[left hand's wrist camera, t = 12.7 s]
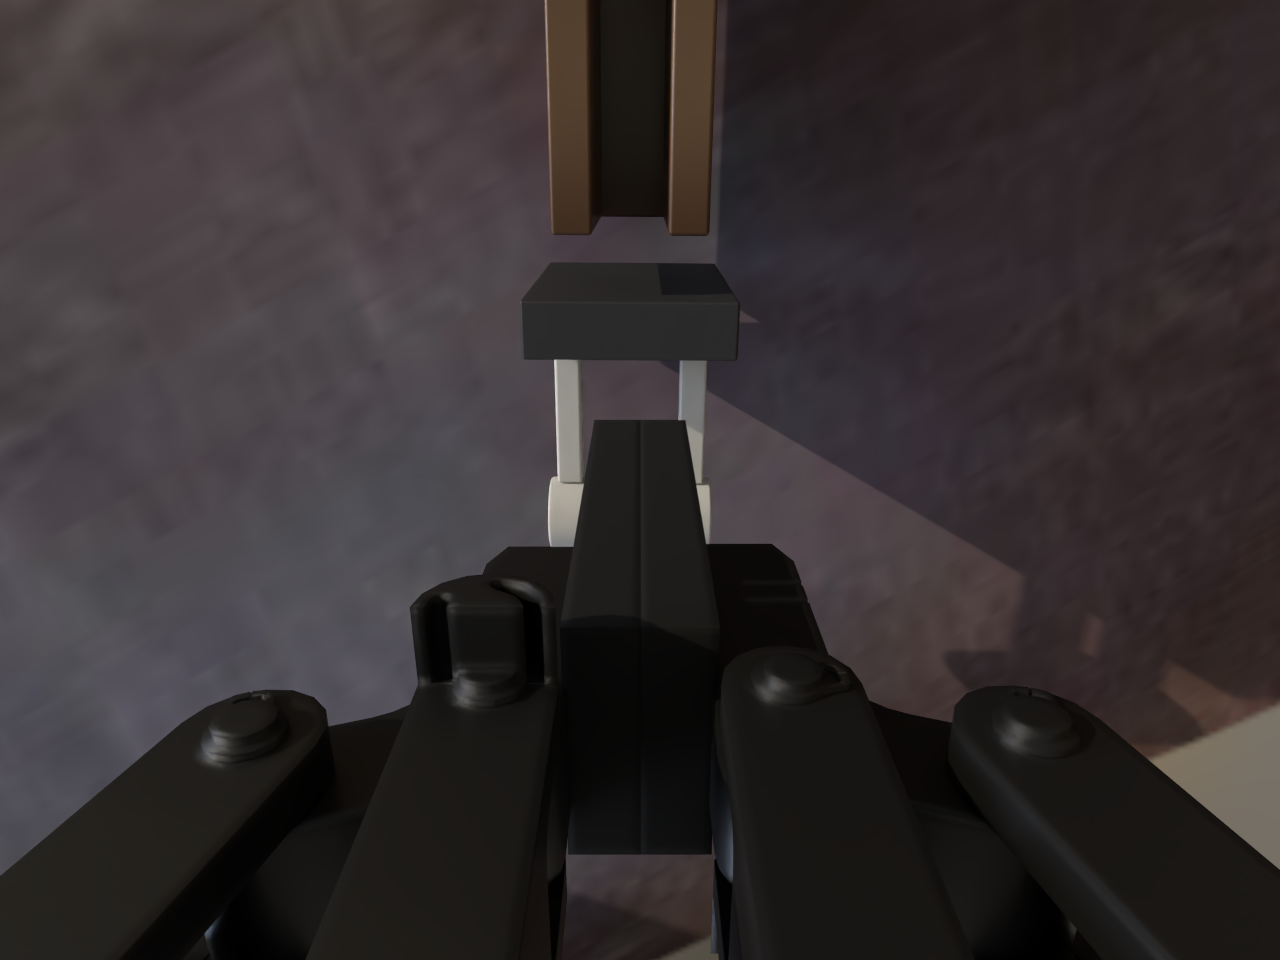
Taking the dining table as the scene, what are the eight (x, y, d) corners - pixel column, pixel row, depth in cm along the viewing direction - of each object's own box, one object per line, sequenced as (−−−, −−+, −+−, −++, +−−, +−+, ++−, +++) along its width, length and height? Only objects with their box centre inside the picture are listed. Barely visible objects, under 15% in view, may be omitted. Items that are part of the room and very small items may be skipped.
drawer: (706, 489, 25) (726, 590, 19) (556, 489, 25) (532, 589, 19) (750, -665, 16) (809, -1098, 11) (521, -668, 16) (458, -1102, 11)
